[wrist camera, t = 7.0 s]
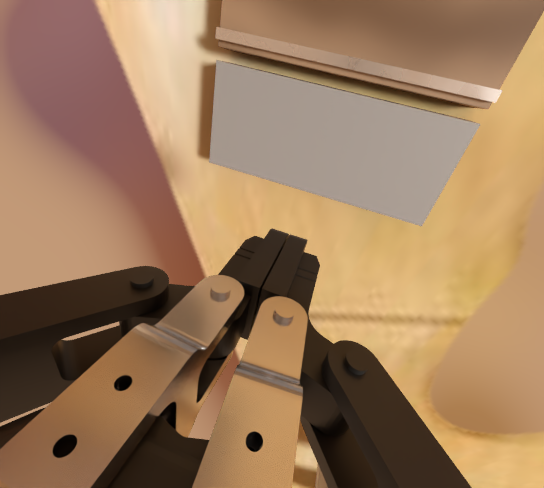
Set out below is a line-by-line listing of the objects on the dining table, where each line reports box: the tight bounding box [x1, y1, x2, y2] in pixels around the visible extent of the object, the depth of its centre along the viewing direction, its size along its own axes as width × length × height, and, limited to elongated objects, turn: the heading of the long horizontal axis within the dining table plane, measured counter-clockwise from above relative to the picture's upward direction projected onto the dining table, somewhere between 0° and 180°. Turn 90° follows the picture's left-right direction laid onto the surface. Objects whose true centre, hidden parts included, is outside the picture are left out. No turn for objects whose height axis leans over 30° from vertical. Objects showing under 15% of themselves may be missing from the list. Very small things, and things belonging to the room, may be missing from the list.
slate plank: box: [209, 60, 480, 226], centre depth 20 cm, size 7×17×2 cm, turn 78°
